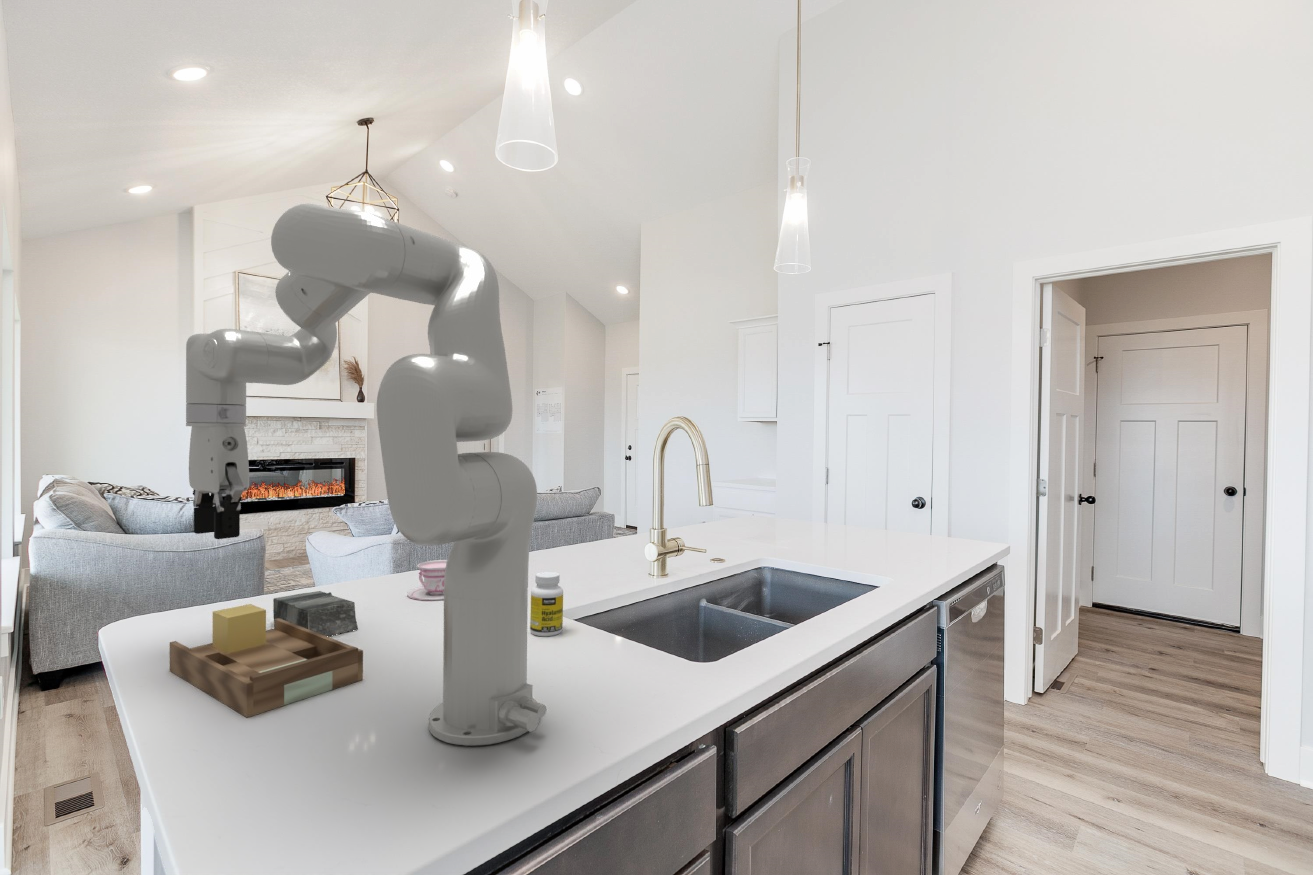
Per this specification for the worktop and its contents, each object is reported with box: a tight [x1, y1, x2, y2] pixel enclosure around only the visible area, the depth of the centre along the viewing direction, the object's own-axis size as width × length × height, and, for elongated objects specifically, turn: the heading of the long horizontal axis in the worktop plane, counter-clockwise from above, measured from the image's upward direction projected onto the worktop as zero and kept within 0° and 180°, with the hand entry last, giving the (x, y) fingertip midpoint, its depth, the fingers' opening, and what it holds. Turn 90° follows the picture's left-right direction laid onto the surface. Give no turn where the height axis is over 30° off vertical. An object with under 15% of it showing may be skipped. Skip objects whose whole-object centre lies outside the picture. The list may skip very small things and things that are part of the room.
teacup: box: [406, 559, 447, 601], centre depth 133 cm, size 12×12×6 cm
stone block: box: [272, 590, 359, 637], centre depth 111 cm, size 9×14×5 cm, turn 50°
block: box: [212, 603, 267, 654], centre depth 94 cm, size 5×5×5 cm
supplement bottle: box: [529, 571, 564, 637], centre depth 109 cm, size 5×5×10 cm
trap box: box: [169, 618, 364, 718], centre depth 89 cm, size 24×14×4 cm, turn 55°
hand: (216, 534), depth 98 cm, fingers open, 6 cm apart
